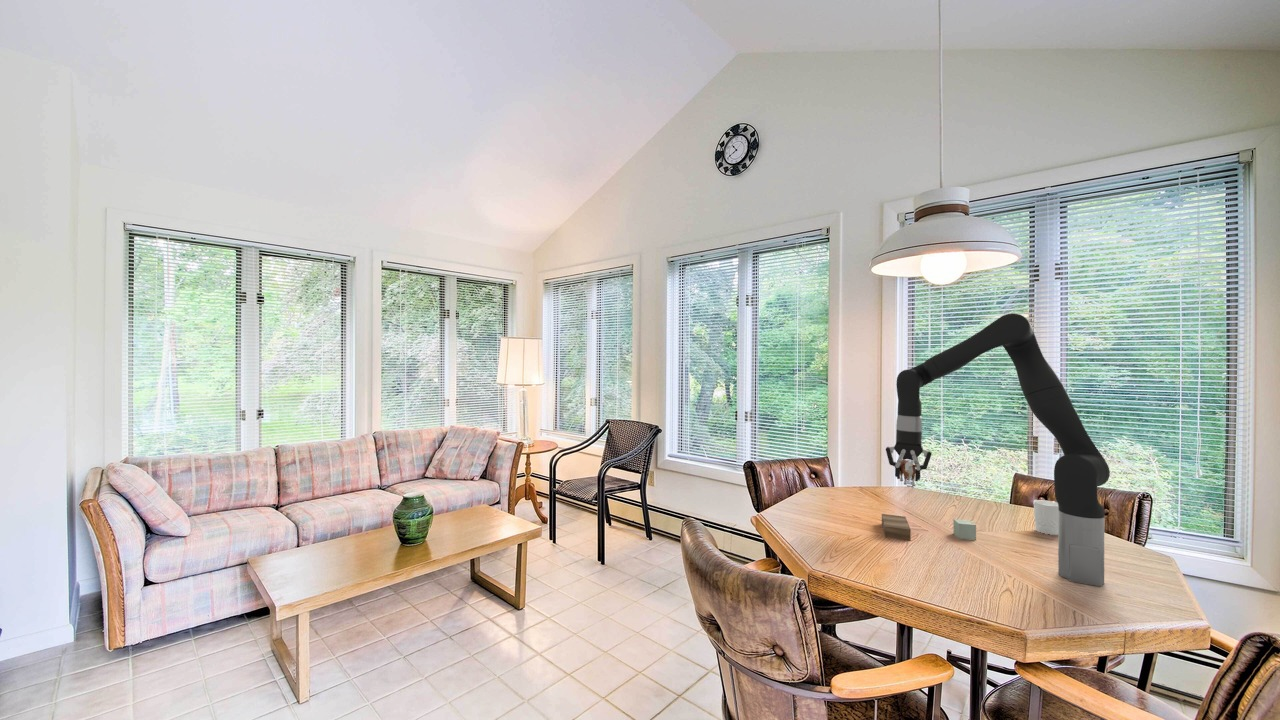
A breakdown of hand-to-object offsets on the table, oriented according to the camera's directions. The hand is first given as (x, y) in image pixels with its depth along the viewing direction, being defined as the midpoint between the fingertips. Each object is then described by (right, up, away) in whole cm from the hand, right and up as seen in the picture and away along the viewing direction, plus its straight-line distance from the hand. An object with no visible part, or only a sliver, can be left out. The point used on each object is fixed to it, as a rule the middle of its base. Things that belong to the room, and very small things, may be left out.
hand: (907, 479), depth 166 cm
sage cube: (+18, -19, -2) cm, 26 cm away
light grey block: (+50, -19, +4) cm, 54 cm away
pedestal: (-3, -19, +2) cm, 19 cm away
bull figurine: (0, -2, 0) cm, 2 cm away
